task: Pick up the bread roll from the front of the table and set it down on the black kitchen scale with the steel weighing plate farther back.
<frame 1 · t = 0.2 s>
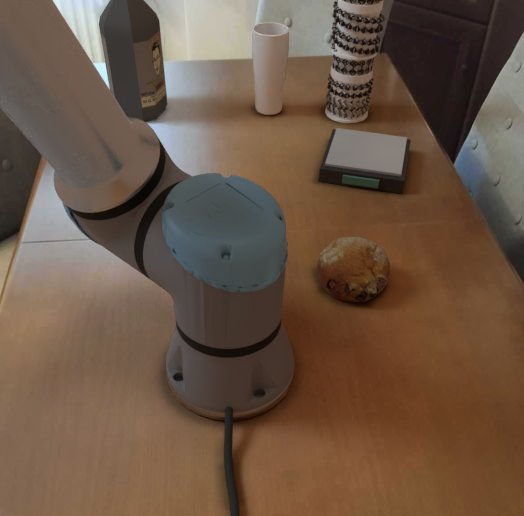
kitchen scale: (364, 166, 104), on the table
bread roll: (351, 282, 84), on the table
liquor: (141, 111, 117), on the table
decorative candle: (346, 114, 118), on the table
drinking glass: (268, 111, 118), on the table
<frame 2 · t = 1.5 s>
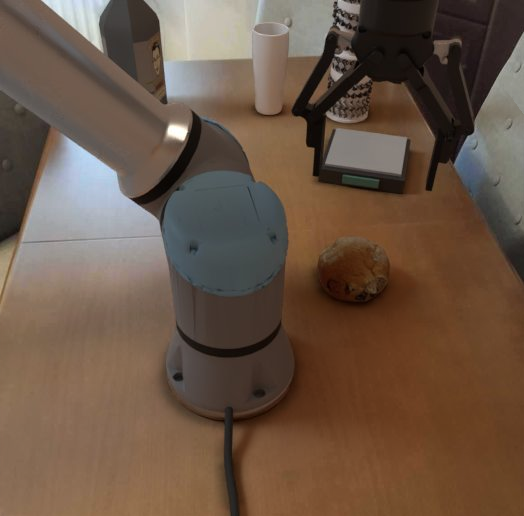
hand: (372, 178, 73), 16 cm above the table, tool pointing down, fingers open, 13 cm apart
nothing on the table moved.
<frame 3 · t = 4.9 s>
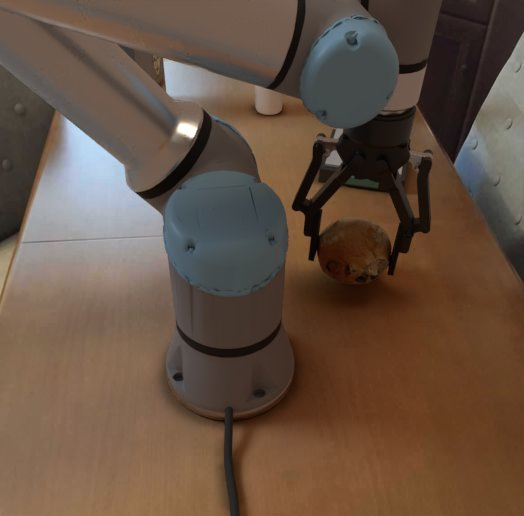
hand: (351, 261, 81), 4 cm above the table, tool pointing down, fingers closed on bread roll, 10 cm apart
bread roll: (351, 264, 81), point 3 cm above the table, touching gripper
everything else where it was.
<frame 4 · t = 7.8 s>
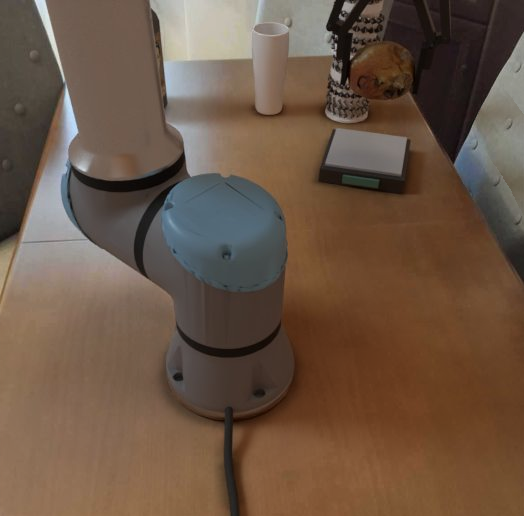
hand: (379, 85, 90), 16 cm above the table, tool pointing down, fingers closed on bread roll, 10 cm apart
bread roll: (379, 88, 90), point 15 cm above the table, touching gripper
everything else where it was.
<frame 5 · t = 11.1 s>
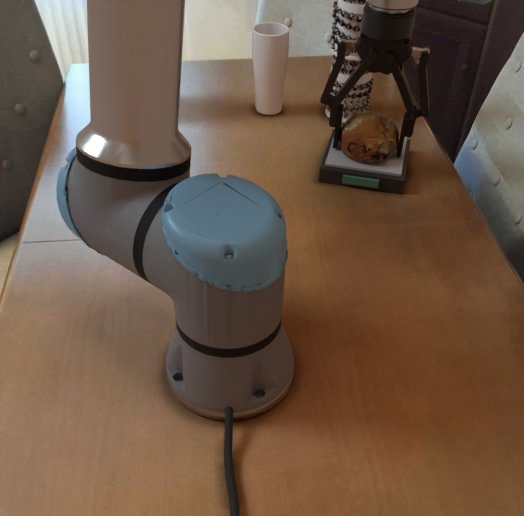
hand: (367, 148, 102), 3 cm above the table, tool pointing down, fingers closed on bread roll, 10 cm apart
bread roll: (367, 151, 102), point 3 cm above the table, touching gripper
everything else where it was.
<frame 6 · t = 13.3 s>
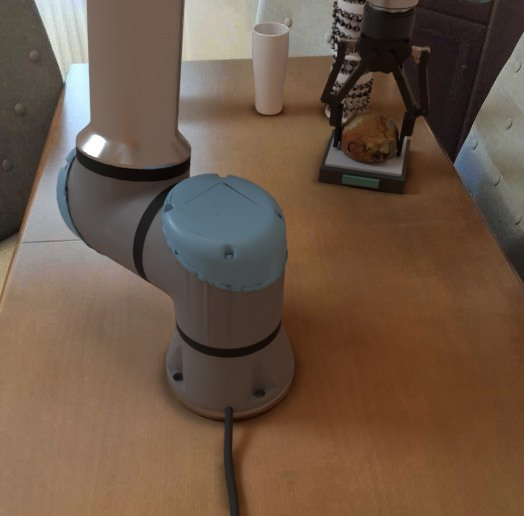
hand: (367, 148, 102), 4 cm above the table, tool pointing down, fingers closed on bread roll, 10 cm apart
bread roll: (367, 150, 102), point 3 cm above the table, touching gripper
everything else where it was.
when the fingers open (3 cm above the table, at t = 15.4 s): bread roll stays where it is, resting on kitchen scale.
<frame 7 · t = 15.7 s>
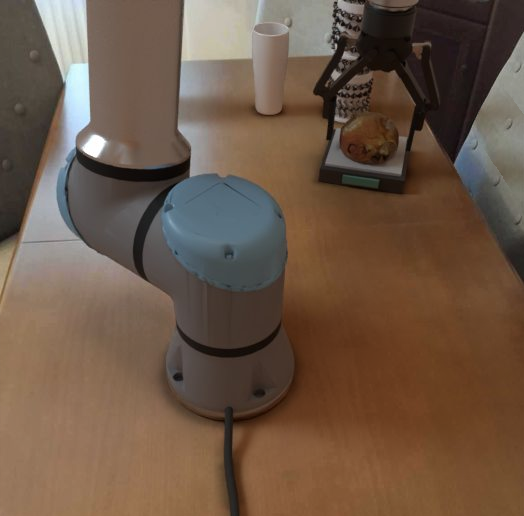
hand: (368, 142, 101), 5 cm above the table, tool pointing down, fingers open, 13 cm apart
bread roll: (367, 152, 102), point 3 cm above the table, touching kitchen scale
everything else where it was.
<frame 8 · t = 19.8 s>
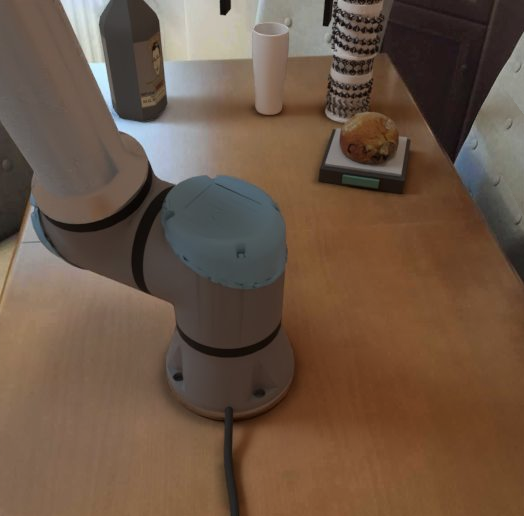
hand: (275, 17, 78), 27 cm above the table, tool pointing down, fingers open, 13 cm apart
nothing on the table moved.
at the end: bread roll inside the target area on the kitchen scale (0.1 cm from its centre), point 2.8 cm above the kitchen scale's base; the gripper is holding nothing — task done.
